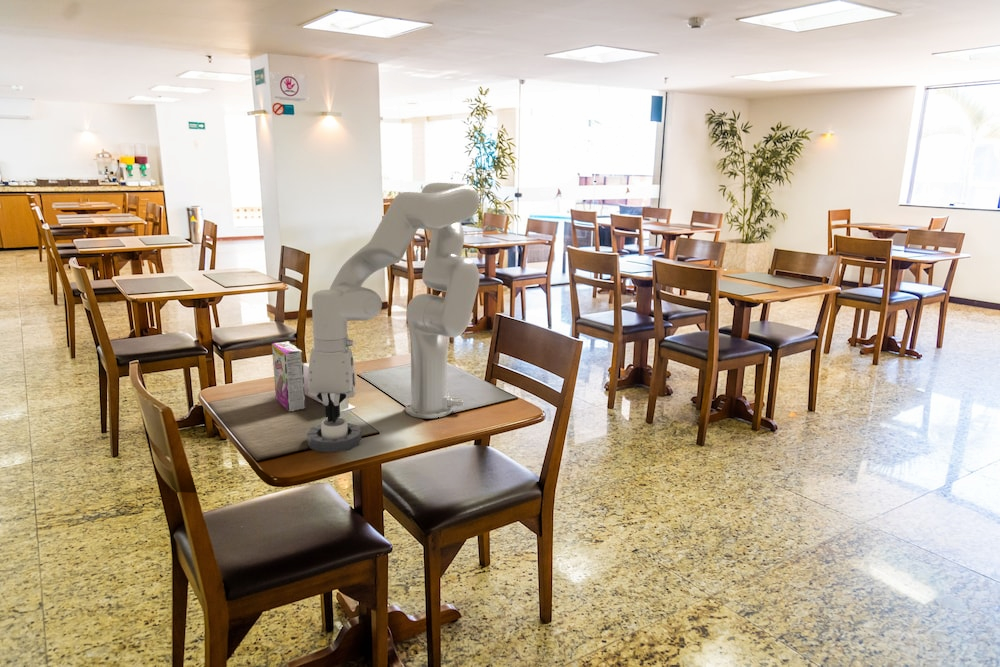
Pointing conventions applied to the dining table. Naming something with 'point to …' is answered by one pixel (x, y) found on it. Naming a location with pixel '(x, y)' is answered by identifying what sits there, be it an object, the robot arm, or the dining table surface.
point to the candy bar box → (288, 375)
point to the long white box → (343, 405)
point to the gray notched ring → (334, 440)
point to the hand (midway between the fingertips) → (332, 419)
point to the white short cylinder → (334, 429)
